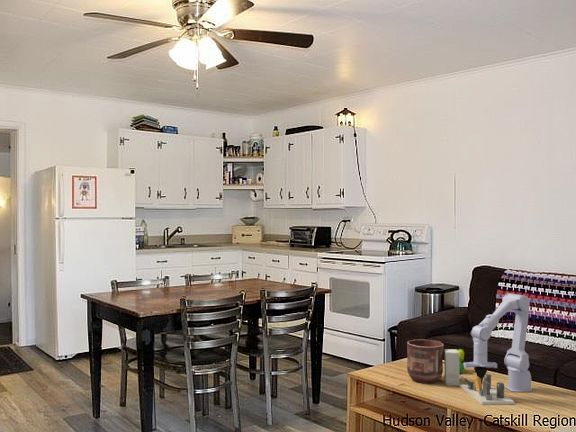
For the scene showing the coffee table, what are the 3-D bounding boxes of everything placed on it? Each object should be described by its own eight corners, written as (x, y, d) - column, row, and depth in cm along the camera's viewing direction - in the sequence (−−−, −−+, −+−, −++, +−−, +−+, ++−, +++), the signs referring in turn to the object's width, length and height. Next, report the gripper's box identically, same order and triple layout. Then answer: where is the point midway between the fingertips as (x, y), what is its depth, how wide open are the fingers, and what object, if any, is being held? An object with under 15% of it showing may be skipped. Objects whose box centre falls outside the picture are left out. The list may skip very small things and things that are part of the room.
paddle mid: (479, 390, 242) (476, 375, 242) (483, 393, 238) (480, 378, 238) (476, 390, 242) (473, 376, 242) (480, 393, 238) (477, 379, 238)
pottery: (445, 386, 253) (446, 347, 253) (407, 383, 256) (407, 345, 256) (441, 376, 270) (441, 340, 271) (405, 374, 273) (406, 338, 274)
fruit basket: (443, 368, 285) (443, 346, 285) (459, 367, 286) (459, 346, 286) (451, 374, 273) (452, 352, 273) (468, 374, 274) (468, 351, 274)
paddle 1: (473, 384, 249) (461, 375, 249) (476, 386, 245) (465, 378, 245) (471, 386, 249) (460, 378, 249) (475, 389, 245) (463, 381, 245)
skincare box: (459, 386, 253) (460, 353, 253) (445, 385, 254) (445, 352, 255) (457, 381, 261) (458, 349, 261) (443, 380, 263) (444, 348, 263)
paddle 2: (485, 395, 235) (485, 380, 236) (489, 398, 231) (490, 383, 231) (482, 395, 235) (482, 380, 235) (486, 398, 231) (486, 383, 231)
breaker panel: (489, 386, 253) (489, 371, 253) (514, 404, 229) (514, 387, 229) (460, 387, 252) (460, 371, 252) (482, 404, 228) (482, 387, 228)
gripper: (468, 355, 236) (467, 386, 236) (500, 355, 237) (499, 386, 237) (461, 351, 243) (461, 381, 243) (493, 351, 244) (492, 381, 244)
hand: (480, 383), depth 240 cm, fingers closed, pressing on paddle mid
